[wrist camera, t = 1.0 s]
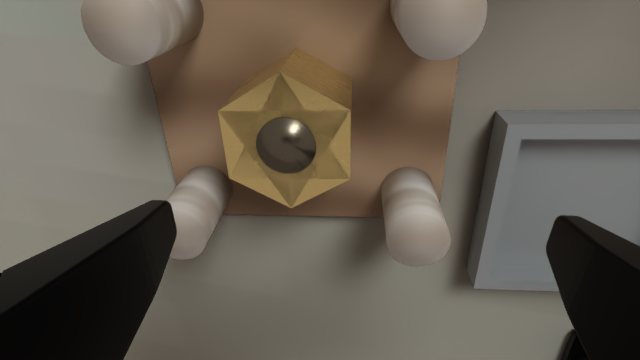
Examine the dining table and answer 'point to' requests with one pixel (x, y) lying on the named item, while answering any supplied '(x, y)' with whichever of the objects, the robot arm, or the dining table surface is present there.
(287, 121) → the nut
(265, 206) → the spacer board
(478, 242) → the tray
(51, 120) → the dining table surface
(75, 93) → the dining table surface
